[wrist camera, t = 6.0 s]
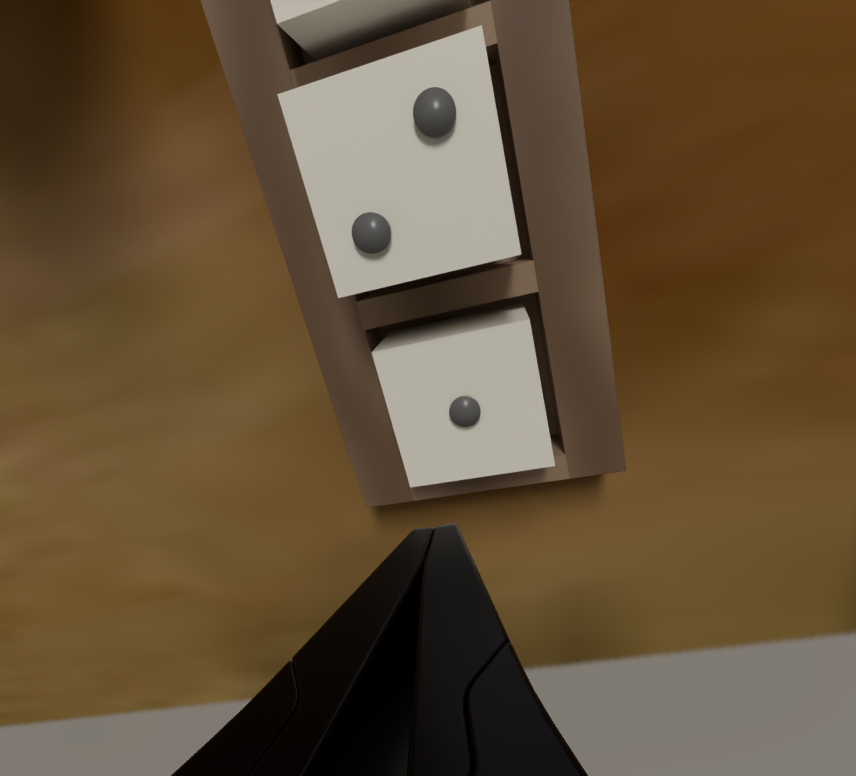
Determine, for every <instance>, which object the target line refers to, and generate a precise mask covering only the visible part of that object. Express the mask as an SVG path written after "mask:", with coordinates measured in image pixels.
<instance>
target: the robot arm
mask: <svg viewBox="0 0 856 776" xmlns="http://www.w3.org/2000/svg"><path fill="white" fill-rule="evenodd" d="M292 662H293V663H292ZM292 662H291V661H289V662H288V663H287V664H286V665H285V666H284V667H283V668H282V669H281V670H280V671H279V672H278V673H277V674H276V675H275V676H274V677H273V678H272V680H271V681H270V682H269V683H268V684H267V685H266V686H265V687H264V688H263V689H262V690H261V691H260V692H259V693H258V694H257V695H256V696H255V697H254V698H253V699H252V700H251V701H250V702H249V703H248V704H247V705H246V706H245V707H244V708H243V709H242V710H241V711H240V712H239V713H238V714H237V715H236V716H235V717H234V718H233V719H231V720H230V721H229V722H228V723H227V724H226V725H225V726H224V727H223V728H222V729H221V730H220V731H219V732H218V733H217V734H216V735H215V736H214V737H213V738H211V739H210V740H209V741H208V742H207V743H206V744H205V745H204V746H203V747H202V748H201V749H199V750H198V751H197V753H195V754H194V755H193V756H192V757H191V758H190V759H189V760H188V761H186V762H185V763H184V764H183V765H182V766H181V767H180V768H179V769H178V770H177V771H176V772H175V773H173V774H172V775H171V776H588V775H587V773H586V772H585V770H584V769H583V767H582V766H581V764H580V763H579V761H578V760H577V758H576V757H575V755H574V753H573V752H572V750H571V749H570V747H569V746H568V744H567V743H566V741H565V740H564V738H563V737H562V735H561V734H560V732H559V730H558V729H557V727H556V726H555V724H554V723H553V721H552V719H551V718H550V716H549V714H548V713H547V711H546V709H545V708H544V706H543V704H542V703H541V701H540V699H539V698H538V696H537V694H536V693H535V691H534V689H533V687H532V685H531V683H530V681H529V679H528V677H527V675H526V673H525V671H524V669H523V667H522V665H521V663H520V661H519V659H518V656H517V654H516V652H515V650H514V648H513V646H512V644H511V642H510V639H509V637H508V635H507V633H506V631H505V628H504V626H503V624H502V622H501V620H500V618H499V615H498V613H497V611H496V609H495V607H494V604H493V602H492V600H491V598H490V596H489V593H488V591H487V589H486V587H485V585H484V582H483V580H482V578H481V576H480V574H479V572H478V569H477V567H476V565H475V563H474V561H473V558H472V556H471V554H470V552H469V550H468V547H467V545H466V543H465V541H464V539H463V537H462V534H461V532H460V530H459V528H458V526H457V525H456V524H449V525H441V526H437V527H436V528H433V527H426V528H419V529H414V530H413V531H411V532H410V534H409V535H408V536H407V537H406V538H405V539H404V540H403V541H402V542H401V543H400V544H399V545H398V546H397V547H396V548H395V549H394V550H393V552H392V553H391V554H390V555H389V556H388V557H387V558H386V559H385V560H384V561H383V562H382V563H381V564H380V565H379V566H378V567H377V568H376V570H375V571H374V572H373V573H372V574H371V575H370V576H369V577H368V578H367V579H366V580H365V581H364V582H363V583H362V584H361V585H360V586H359V588H358V589H357V590H356V591H355V592H354V593H353V594H352V595H351V596H350V597H349V598H348V599H347V600H346V601H345V602H344V603H343V605H342V606H341V607H340V608H339V609H338V610H337V611H336V612H335V613H334V614H333V615H332V616H331V617H330V618H329V619H328V620H327V621H326V623H325V624H324V625H323V626H322V627H321V628H320V629H319V630H318V631H317V632H316V633H315V634H314V635H313V636H312V637H311V638H310V639H309V641H308V642H307V643H306V644H305V645H304V646H303V647H302V648H301V649H300V650H299V651H298V652H297V653H296V654H295V655H294V656H293V658H292Z"/></svg>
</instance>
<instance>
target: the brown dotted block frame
mask: <svg viewBox="0 0 856 776" xmlns="http://www.w3.org/2000/svg"><path fill="white" fill-rule="evenodd" d="M201 3H202V6H203V9H204V12H205V15H206V18H207V21H208V24H209V27H210V30H211V33H212V37H213V40H214V43H215V46H216V49H217V52H218V55H219V58H220V61H221V64H222V67H223V70H224V73H225V76H226V80H227V83H228V86H229V89H230V92H231V95H232V98H233V101H234V104H235V107H236V110H237V113H238V116H239V119H240V122H241V126H242V129H243V132H244V135H245V138H246V141H247V144H248V147H249V150H250V153H251V156H252V159H253V162H254V165H255V169H256V172H257V175H258V178H259V181H260V184H261V187H262V190H263V193H264V196H265V199H266V202H267V205H268V208H269V211H270V215H271V218H272V221H273V224H274V227H275V230H276V233H277V236H278V239H279V242H280V245H281V248H282V251H283V254H284V257H285V261H286V264H287V267H288V270H289V273H290V276H291V279H292V282H293V285H294V288H295V291H296V294H297V297H298V300H299V304H300V307H301V310H302V313H303V316H304V319H305V322H306V325H307V328H308V331H309V334H310V337H311V340H312V343H313V346H314V350H315V353H316V356H317V359H318V362H319V365H320V368H321V371H322V374H323V377H324V380H325V383H326V386H327V389H328V393H329V396H330V399H331V402H332V405H333V408H334V411H335V414H336V417H337V420H338V423H339V426H340V429H341V432H342V435H343V439H344V442H345V445H346V448H347V451H348V454H349V457H350V460H351V463H352V466H353V469H354V472H355V475H356V478H357V482H358V485H359V488H360V491H361V494H362V497H363V500H364V503H365V506H366V508H368V507H375V506H382V505H389V504H396V503H403V502H410V501H417V500H424V499H431V498H438V497H445V496H452V495H459V494H466V493H473V492H480V491H487V490H494V489H501V488H508V487H515V486H522V485H529V484H536V483H543V482H550V481H557V480H564V479H571V478H578V477H585V476H592V475H599V474H606V473H613V472H620V471H626V465H625V457H624V449H623V441H622V432H621V424H620V416H619V408H618V400H617V391H616V383H615V375H614V367H613V359H612V350H611V342H610V334H609V326H608V318H607V309H606V301H605V293H604V285H603V277H602V268H601V260H600V252H599V244H598V236H597V227H596V219H595V211H594V203H593V195H592V186H591V178H590V170H589V162H588V154H587V145H586V137H585V129H584V121H583V113H582V104H581V96H580V88H579V80H578V72H577V63H576V55H575V47H574V39H573V30H572V22H571V14H570V6H569V0H470V8H468V9H465V10H462V11H459V12H456V13H453V14H450V15H447V16H445V17H442V18H439V19H436V20H433V21H430V22H427V23H424V24H422V25H419V26H416V27H413V28H410V29H407V30H404V31H401V32H398V33H396V34H393V35H390V36H387V37H384V38H381V39H378V40H375V41H373V42H370V43H367V44H364V45H361V46H358V47H355V48H352V49H350V50H347V51H344V52H341V53H338V54H335V55H332V56H329V57H326V58H324V59H321V60H318V61H316V60H315V59H314V58H313V57H312V56H311V55H309V54H308V53H307V52H306V51H305V50H304V49H303V48H302V47H301V46H300V45H299V44H298V43H297V42H296V41H295V40H294V39H293V38H291V37H290V36H289V35H288V34H287V33H286V32H285V31H284V30H283V29H282V28H281V27H280V26H279V25H278V24H277V22H276V19H275V15H274V12H273V8H272V5H271V1H270V0H201ZM481 25H482V28H483V34H484V40H485V46H486V52H487V57H488V63H489V69H490V75H491V81H492V86H493V92H494V98H495V104H496V110H497V115H498V121H499V127H500V133H501V139H502V144H503V150H504V156H505V162H506V168H507V173H508V179H509V185H510V191H511V197H512V202H513V208H514V214H515V220H516V226H517V231H518V237H519V243H520V249H521V255H518V256H513V257H509V258H505V259H501V260H497V261H492V262H488V263H484V264H480V265H476V266H471V267H467V268H463V269H459V270H455V271H450V272H446V273H442V274H438V275H434V276H429V277H425V278H421V279H417V280H413V281H408V282H404V283H400V284H396V285H392V286H387V287H383V288H379V289H375V290H371V291H366V292H362V293H358V294H354V295H350V296H345V297H341V298H338V296H337V292H336V289H335V286H334V282H333V279H332V276H331V272H330V269H329V266H328V262H327V259H326V256H325V252H324V249H323V245H322V242H321V239H320V235H319V232H318V229H317V225H316V222H315V219H314V215H313V212H312V209H311V205H310V202H309V199H308V195H307V192H306V189H305V185H304V182H303V179H302V175H301V172H300V169H299V165H298V162H297V159H296V155H295V152H294V149H293V145H292V142H291V138H290V135H289V132H288V128H287V125H286V122H285V118H284V115H283V112H282V108H281V105H280V102H279V98H278V95H277V94H280V93H283V92H286V91H289V90H292V89H295V88H298V87H301V86H304V85H306V84H309V83H312V82H315V81H318V80H321V79H324V78H327V77H330V76H333V75H336V74H339V73H342V72H345V71H348V70H351V69H354V68H357V67H360V66H363V65H366V64H369V63H372V62H375V61H377V60H380V59H383V58H386V57H389V56H392V55H395V54H398V53H401V52H404V51H407V50H410V49H413V48H416V47H419V46H422V45H425V44H428V43H431V42H434V41H437V40H440V39H443V38H446V37H448V36H451V35H454V34H457V33H460V32H463V31H466V30H469V29H472V28H475V27H478V26H481ZM520 303H523V305H524V307H525V310H526V312H527V314H528V317H529V319H530V324H531V330H532V336H533V341H534V347H535V353H536V358H537V364H538V370H539V376H540V381H541V387H542V393H543V399H544V404H545V410H546V416H547V422H548V427H549V433H550V439H551V444H552V450H553V456H554V462H555V466H552V467H545V468H538V469H532V470H525V471H518V472H512V473H505V474H498V475H491V476H485V477H478V478H471V479H464V480H458V481H451V482H444V483H438V484H431V485H424V486H417V487H411V488H410V485H409V481H408V478H407V474H406V471H405V467H404V464H403V460H402V457H401V453H400V450H399V447H398V443H397V440H396V436H395V433H394V429H393V426H392V422H391V419H390V415H389V412H388V408H387V405H386V401H385V398H384V394H383V391H382V387H381V384H380V380H379V377H378V373H377V370H376V366H375V363H374V359H373V356H372V351H373V350H374V349H375V348H376V347H377V346H378V345H379V344H380V342H381V341H382V340H383V339H384V338H385V337H386V336H387V335H388V334H389V332H391V331H396V330H400V329H405V328H409V327H414V326H419V325H423V324H428V323H432V322H437V321H442V320H446V319H451V318H455V317H460V316H464V315H469V314H474V313H478V312H483V311H487V310H492V309H497V308H501V307H506V306H510V305H515V304H520Z"/></svg>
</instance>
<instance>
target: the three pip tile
mask: <svg viewBox="0 0 856 776" xmlns="http://www.w3.org/2000/svg"><path fill="white" fill-rule="evenodd" d="M270 1H271V5H272V8H273V12H274V15H275V19H276V22H277V24H278V25H279V26H280V27H281V28H282V29H283V30H284V31H285V32H286V33H287V34H288V35H289V36H290V37H291V38H293V39H294V40H295V41H296V42H297V43H298V44H299V45H300V46H301V47H302V48H303V49H304V50H305V51H306V52H307V53H308V54H309V55H311V56H312V57H313V58H314V59H315V60H316V61H318V60H321V59H324V58H326V57H329V56H332V55H335V54H338V53H341V52H344V51H347V50H350V49H352V48H355V47H358V46H361V45H364V44H367V43H370V42H373V41H375V40H378V39H381V38H384V37H387V36H390V35H393V34H396V33H398V32H401V31H404V30H407V29H410V28H413V27H416V26H419V25H422V24H424V23H427V22H430V21H433V20H436V19H439V18H442V17H445V16H447V15H450V14H453V13H456V12H459V11H462V10H465V9H468V8H470V0H270Z"/></svg>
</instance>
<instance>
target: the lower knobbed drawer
mask: <svg viewBox="0 0 856 776" xmlns="http://www.w3.org/2000/svg"><path fill="white" fill-rule="evenodd" d="M372 356H373V359H374V363H375V366H376V370H377V373H378V377H379V380H380V384H381V387H382V391H383V394H384V398H385V401H386V405H387V408H388V412H389V415H390V419H391V422H392V426H393V429H394V433H395V436H396V440H397V443H398V447H399V450H400V453H401V457H402V460H403V464H404V467H405V471H406V474H407V478H408V481H409V485H410V488H411V487H417V486H424V485H431V484H438V483H444V482H451V481H458V480H464V479H471V478H478V477H485V476H491V475H498V474H505V473H512V472H518V471H525V470H532V469H538V468H545V467H552V466H555V462H554V456H553V450H552V444H551V439H550V433H549V427H548V422H547V416H546V410H545V404H544V399H543V393H542V387H541V381H540V376H539V370H538V364H537V358H536V353H535V347H534V341H533V336H532V330H531V324H530V319H529V317H528V314H527V312H526V310H525V307H524V305H523V303H520V304H515V305H510V306H506V307H501V308H497V309H492V310H487V311H483V312H478V313H474V314H469V315H464V316H460V317H455V318H451V319H446V320H442V321H437V322H432V323H428V324H423V325H419V326H414V327H409V328H405V329H400V330H396V331H391V332H389V334H388V335H387V336H386V337H385V338H384V339H383V340H382V341H381V342H380V344H379V345H378V346H377V347H376V348H375V349H374V350H373V351H372Z"/></svg>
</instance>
